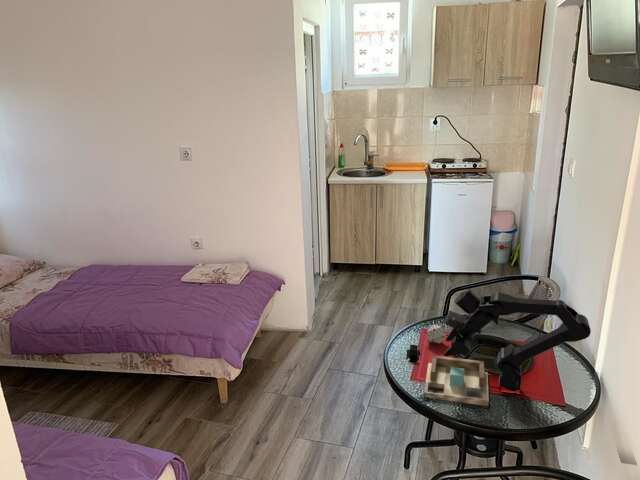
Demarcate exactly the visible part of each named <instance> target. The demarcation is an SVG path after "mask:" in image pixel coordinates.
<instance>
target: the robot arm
mask: <svg viewBox="0 0 640 480" xmlns="http://www.w3.org/2000/svg"><path fill="white" fill-rule="evenodd" d="M453 303H454V304H455V305H457V306H458V307H459V308H460V309H461V310H462V311H463V312H464V313H465V314H466V315H465V316H464V315H463V314H460V313H458V312H455V311H453V310H449V311H448V313H447V314H446V317H445V321H444V323H445V325H446V326H449V327H450V328H452V329H451V330H450V332H449V333H448V334H447V335H448V336H446V337H445V341H446V342H448V343H449V342H450V341H451V342H450V344H451V345H450V346H449V347H448V348H447V349H446V350H445V351H444V353H443V356H444V357H452V356H458V355H462V356H464V357H467V356H468V355H469V354H470V353H471V343H470V342H472V341H474V340H473V338H474V336H475V335H477V334H478V335H480V334H481V333H482V330H483V329H484V328H485V327H486V326H488V325H489V324H490V323H491V322H493V323H495V324H496V325H499V319H500V316H502V317H505V316H510V315H513V314H532V315H533V314H534V315H544V316H547V315H548V316H556V317H558V319H560V322H562V323H561V324H560V325H559V326H558V327H557V328H555V329H553V330H551V331H549V332H547V333H546V334H543V335H541V336H539V337H537V338H535V339H533V340H531V341H529V342H527V343H525V344H523V345H519V346H514V345H513V344H512V343H510V344H508V345H507V346H504V347H501V348H500V351H498V355H497V368H498V371H500V373H499V378H498V387H499V386H501V387H504V388H506V389H508V390H511V391H516V390H521V386H522V379H523V378H522V377H523V375H522V366H523V365H524V363H525V362H526V361H528V360H530V359H532V358H534V357H536V356H538V355H540V354H542V353H544V352H547V351H549V350H551V349H553V348H555V347H558V346H559V345H561V344H563V343H568V342H569V343H572V342H573V343H576V342H579V341H583V340H586V339H588V338H589V337H590V336H591V332H592V331H591V326H590V322H589V319H588V318H587V317H586V316H585V315H583V314H581V313H579V312H578V311H576V310H575V309H574V308H573V307H571V306H570V305H568V304H567V303H566V302H565V301H564V300H562V299H557V300H554V299H553V300H552V299H551V300H550V299H535V298H520V297H515V296H512V295H510V294H507V293H502V292H495V293H492V294H490V295H489V294H488V295H480V296H477V295H476V294H475V293H474V292H473V290H471V289H470V288H468V289H467V290H464V291H462V292H460V293H459V294H458V295H457V297H456V298H455V299H454V302H453ZM467 340H469V341H470V342H469V341H467Z"/></svg>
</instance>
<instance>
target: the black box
mask: <svg viewBox="0 0 640 480" xmlns="http://www.w3.org/2000/svg"><path fill="white" fill-rule="evenodd" d="M418 346H419V345H418V344H409V349H408V348H407V349H406V357H405V362H406V363H410V364H411V363H412V364H417V363H416V362H417V361H418V360H419V355H420V350H421V349H418Z"/></svg>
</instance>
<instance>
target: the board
mask: <svg viewBox="0 0 640 480" xmlns="http://www.w3.org/2000/svg"><path fill="white" fill-rule="evenodd" d="M431 365H432V362H428V363H427V369H426V370H427V371H426V377H425V384H424V391H423V398H427V397H429V399H436V400H441V401H449V402H456V403H462V404H463V403H464V404H471V405H478V406H485V407H489V402H490V397H489V377H488V375H489V374H488V373H489V372H485V371H484V387H481V386H479V371H472V370H464V381H463V387H458V386H450V371H451V368H447V367H439V366H436V374H435V380H430V375H431Z"/></svg>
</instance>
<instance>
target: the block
mask: <svg viewBox="0 0 640 480" xmlns="http://www.w3.org/2000/svg"><path fill="white" fill-rule="evenodd" d="M463 381H464V369H462V368H454V367H451V371H450V386H458V387H463Z"/></svg>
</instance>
